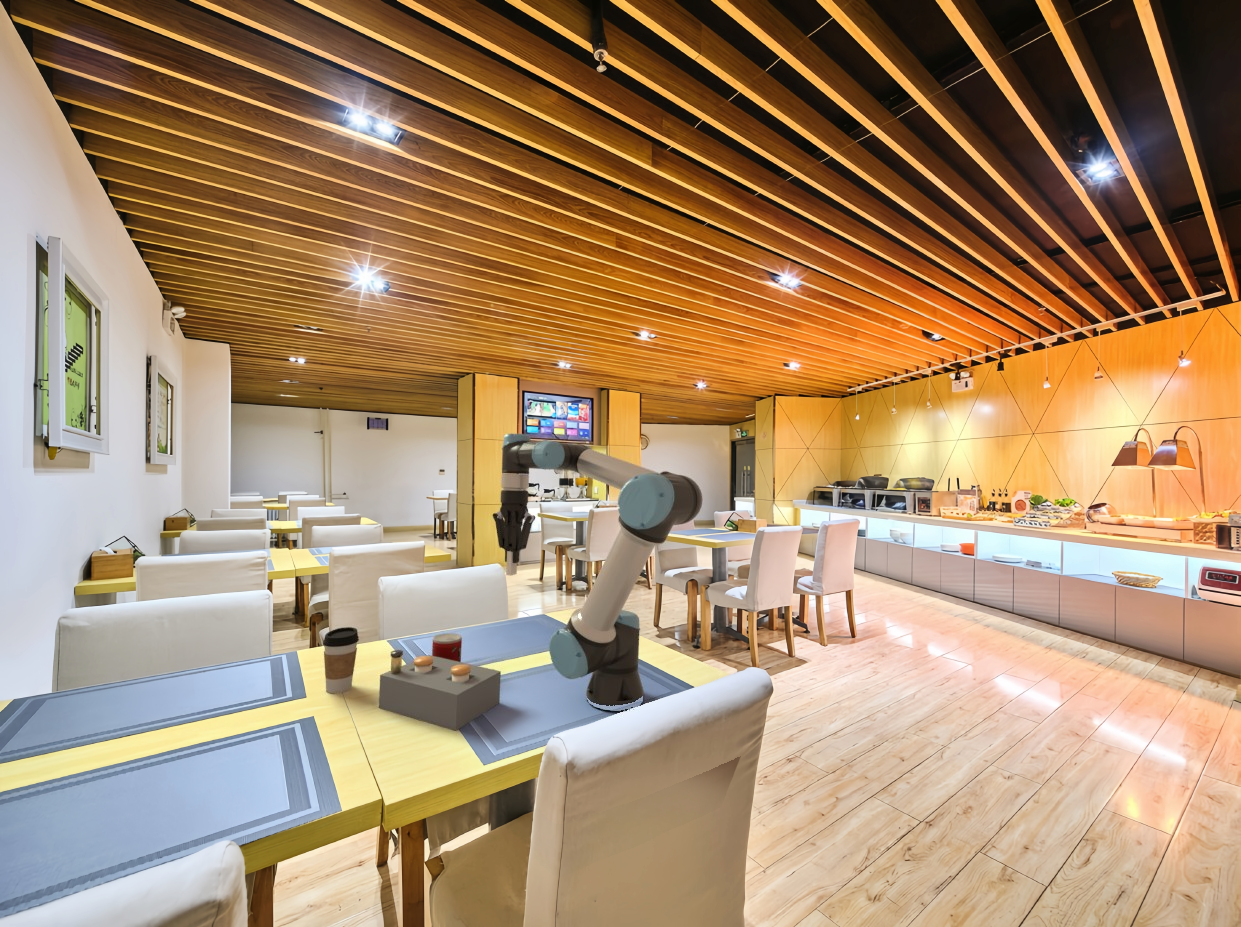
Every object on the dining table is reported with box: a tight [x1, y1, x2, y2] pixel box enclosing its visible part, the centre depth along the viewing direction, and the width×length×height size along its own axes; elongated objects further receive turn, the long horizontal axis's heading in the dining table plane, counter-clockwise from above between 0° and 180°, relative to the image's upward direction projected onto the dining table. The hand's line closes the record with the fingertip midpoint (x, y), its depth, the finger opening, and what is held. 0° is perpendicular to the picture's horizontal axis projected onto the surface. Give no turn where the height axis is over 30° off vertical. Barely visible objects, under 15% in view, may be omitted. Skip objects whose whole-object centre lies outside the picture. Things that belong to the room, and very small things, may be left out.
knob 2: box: [451, 664, 471, 683], centre depth 126 cm, size 5×5×8 cm
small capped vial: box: [390, 649, 404, 674], centre depth 128 cm, size 3×3×5 cm
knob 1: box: [413, 655, 433, 674], centre depth 131 cm, size 5×5×8 cm
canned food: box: [431, 632, 463, 662], centre depth 147 cm, size 8×8×11 cm
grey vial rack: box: [378, 654, 502, 732], centre depth 128 cm, size 24×16×8 cm, turn 66°
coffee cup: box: [322, 626, 360, 694], centre depth 136 cm, size 8×8×15 cm
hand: (511, 574), depth 143 cm, fingers closed
